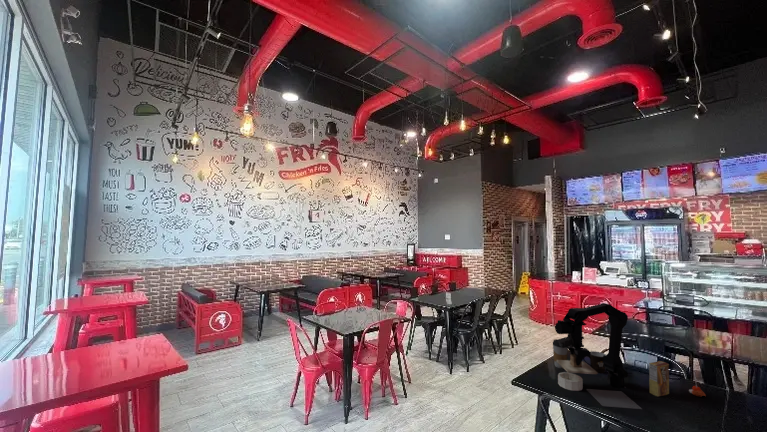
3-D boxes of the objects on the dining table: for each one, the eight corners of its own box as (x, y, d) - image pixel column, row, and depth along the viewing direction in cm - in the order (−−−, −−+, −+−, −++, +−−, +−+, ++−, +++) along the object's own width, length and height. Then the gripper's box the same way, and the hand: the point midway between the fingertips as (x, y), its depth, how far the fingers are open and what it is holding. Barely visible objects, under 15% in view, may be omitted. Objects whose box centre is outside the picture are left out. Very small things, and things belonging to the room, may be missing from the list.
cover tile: (583, 363, 180) (583, 352, 180) (597, 374, 166) (597, 362, 166) (556, 361, 181) (556, 350, 181) (567, 372, 167) (567, 360, 168)
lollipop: (691, 398, 165) (690, 373, 165) (687, 390, 173) (687, 367, 173) (708, 401, 161) (707, 376, 162) (703, 393, 169) (702, 369, 170)
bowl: (576, 382, 180) (576, 373, 180) (586, 392, 169) (586, 382, 169) (555, 381, 181) (555, 371, 182) (563, 390, 171) (563, 380, 171)
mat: (621, 392, 170) (621, 391, 170) (642, 410, 153) (642, 409, 153) (585, 389, 172) (585, 388, 172) (602, 407, 155) (602, 405, 155)
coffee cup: (570, 369, 196) (570, 344, 197) (555, 368, 198) (554, 343, 199) (565, 364, 205) (565, 339, 205) (551, 363, 206) (550, 338, 207)
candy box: (660, 390, 172) (659, 360, 173) (669, 394, 168) (669, 363, 169) (649, 393, 169) (648, 362, 170) (658, 397, 165) (657, 365, 166)
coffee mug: (606, 370, 196) (606, 353, 197) (607, 375, 189) (606, 357, 190) (583, 365, 203) (583, 349, 203) (583, 370, 195) (583, 353, 196)
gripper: (552, 327, 184) (552, 356, 184) (567, 338, 166) (567, 370, 165) (574, 328, 183) (574, 357, 182) (591, 339, 165) (591, 371, 164)
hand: (576, 363), depth 174 cm, fingers closed on cover tile, 4 cm apart
